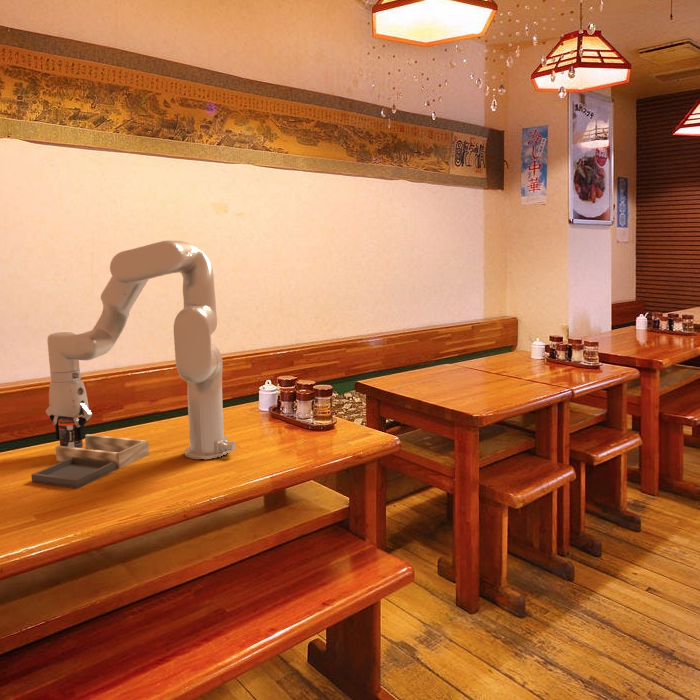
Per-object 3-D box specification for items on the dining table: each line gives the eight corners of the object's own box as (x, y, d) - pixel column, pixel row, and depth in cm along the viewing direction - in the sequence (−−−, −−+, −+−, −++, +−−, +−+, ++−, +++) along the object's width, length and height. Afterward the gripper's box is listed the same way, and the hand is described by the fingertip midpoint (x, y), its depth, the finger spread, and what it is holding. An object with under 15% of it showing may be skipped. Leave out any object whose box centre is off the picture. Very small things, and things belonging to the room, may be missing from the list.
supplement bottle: (77, 452, 173) (74, 412, 171) (56, 452, 173) (52, 413, 171) (86, 445, 179) (83, 407, 177) (66, 445, 179) (63, 407, 177)
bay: (148, 454, 175) (148, 440, 174) (119, 468, 163) (118, 454, 163) (88, 447, 182) (87, 434, 181) (56, 460, 170) (55, 446, 169)
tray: (116, 469, 163) (115, 461, 162) (77, 488, 150) (76, 480, 149) (73, 464, 167) (72, 456, 167) (32, 482, 154) (31, 474, 154)
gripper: (100, 375, 173) (104, 437, 176) (51, 372, 179) (56, 432, 181) (80, 381, 166) (86, 445, 169) (30, 377, 172) (36, 440, 174)
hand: (70, 438), depth 175 cm, fingers closed on supplement bottle, 6 cm apart
